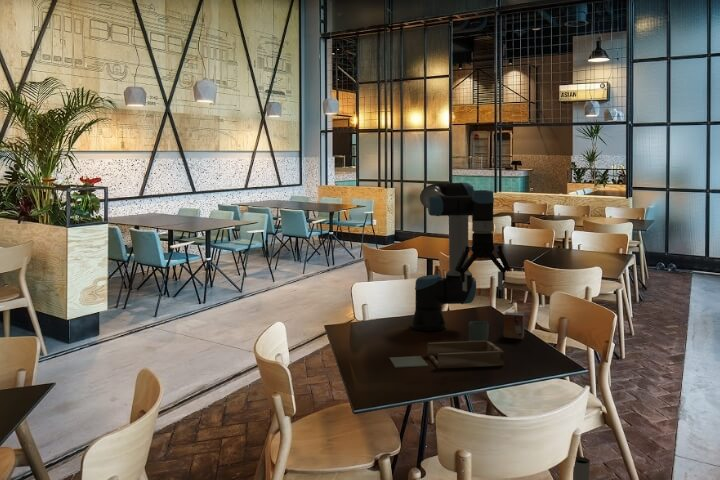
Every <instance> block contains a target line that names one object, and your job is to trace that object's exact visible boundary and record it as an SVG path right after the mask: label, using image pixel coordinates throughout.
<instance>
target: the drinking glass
mask: <svg viewBox="0 0 720 480" xmlns="http://www.w3.org/2000/svg"><path fill="white" fill-rule="evenodd" d="M575 457H576V462H575V467H574V466H573V480H589V479H590V467H591V466H590V465H591V460H590V459H588V458H587V457H583V456H575Z"/></svg>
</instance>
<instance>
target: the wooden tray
mask: <svg viewBox="0 0 720 480" xmlns="http://www.w3.org/2000/svg"><path fill="white" fill-rule="evenodd" d="M426 345H427V348H426V349H427V350H426V351H427V352H426V354H427V355H426V356H427V357H428V358H429V359H430V360H431V361H432V363H433V364H434V366H436V367H437V369H457V368H458V369H459V368H460V369H461V368H475V367H476V368H477V367H481V368H482V367H496V366H497V367H498V366H499V367H500V366H502V367H503V366H505V351H504V350H502V349H501V348H500V347H498V346H497V345H496V344H494V343H492V342H491V341H490V340H489V339H488V340H482V341H469V340H465V341H464V340H463V341H461V340H460V341H439V342H438V341H437V342H427V344H426ZM436 357H437V359H436Z"/></svg>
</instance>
